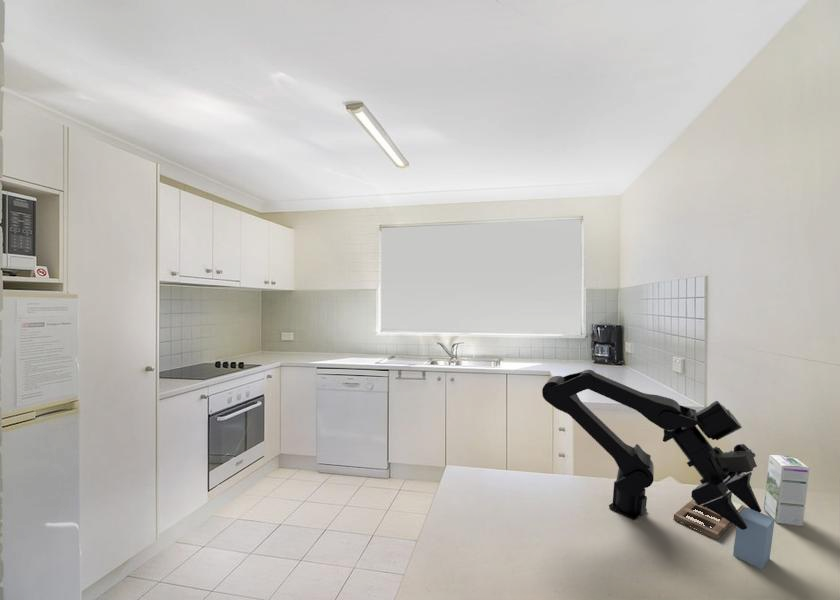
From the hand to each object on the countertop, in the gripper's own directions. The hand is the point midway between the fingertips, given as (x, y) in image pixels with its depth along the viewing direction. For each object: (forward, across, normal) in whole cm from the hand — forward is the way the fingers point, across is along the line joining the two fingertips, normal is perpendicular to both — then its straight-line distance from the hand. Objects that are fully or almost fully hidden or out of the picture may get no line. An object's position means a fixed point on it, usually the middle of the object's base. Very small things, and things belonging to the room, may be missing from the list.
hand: (752, 520), depth 92 cm
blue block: (+6, 0, +5) cm, 8 cm away
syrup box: (+6, +22, +5) cm, 24 cm away
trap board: (-2, +9, +13) cm, 16 cm away
